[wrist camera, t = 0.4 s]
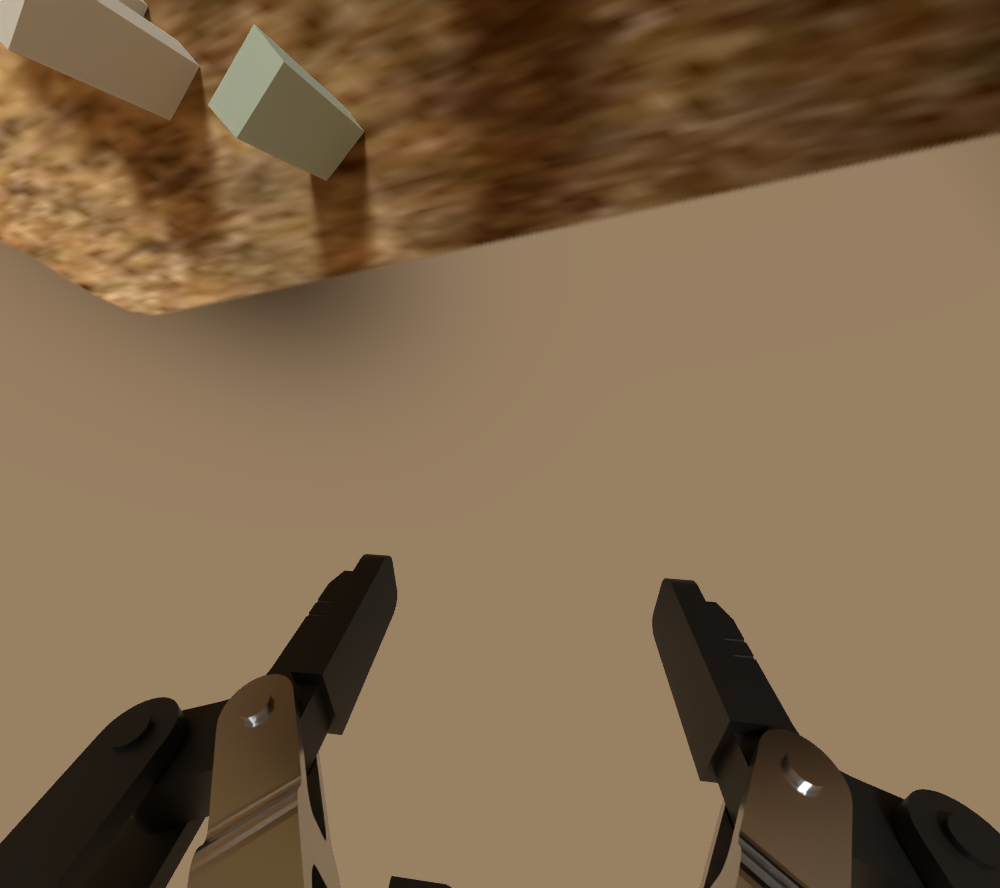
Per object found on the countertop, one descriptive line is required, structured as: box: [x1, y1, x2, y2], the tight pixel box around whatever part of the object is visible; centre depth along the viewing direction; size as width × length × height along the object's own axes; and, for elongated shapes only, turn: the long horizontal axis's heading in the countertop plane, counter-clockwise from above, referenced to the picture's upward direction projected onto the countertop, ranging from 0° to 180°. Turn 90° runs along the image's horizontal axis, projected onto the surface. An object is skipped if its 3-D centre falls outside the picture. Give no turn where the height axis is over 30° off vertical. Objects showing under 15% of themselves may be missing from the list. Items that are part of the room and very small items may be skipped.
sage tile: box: [208, 24, 364, 181], centre depth 25 cm, size 2×5×10 cm, turn 130°
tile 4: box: [0, 0, 200, 121], centre depth 24 cm, size 2×5×10 cm, turn 130°
